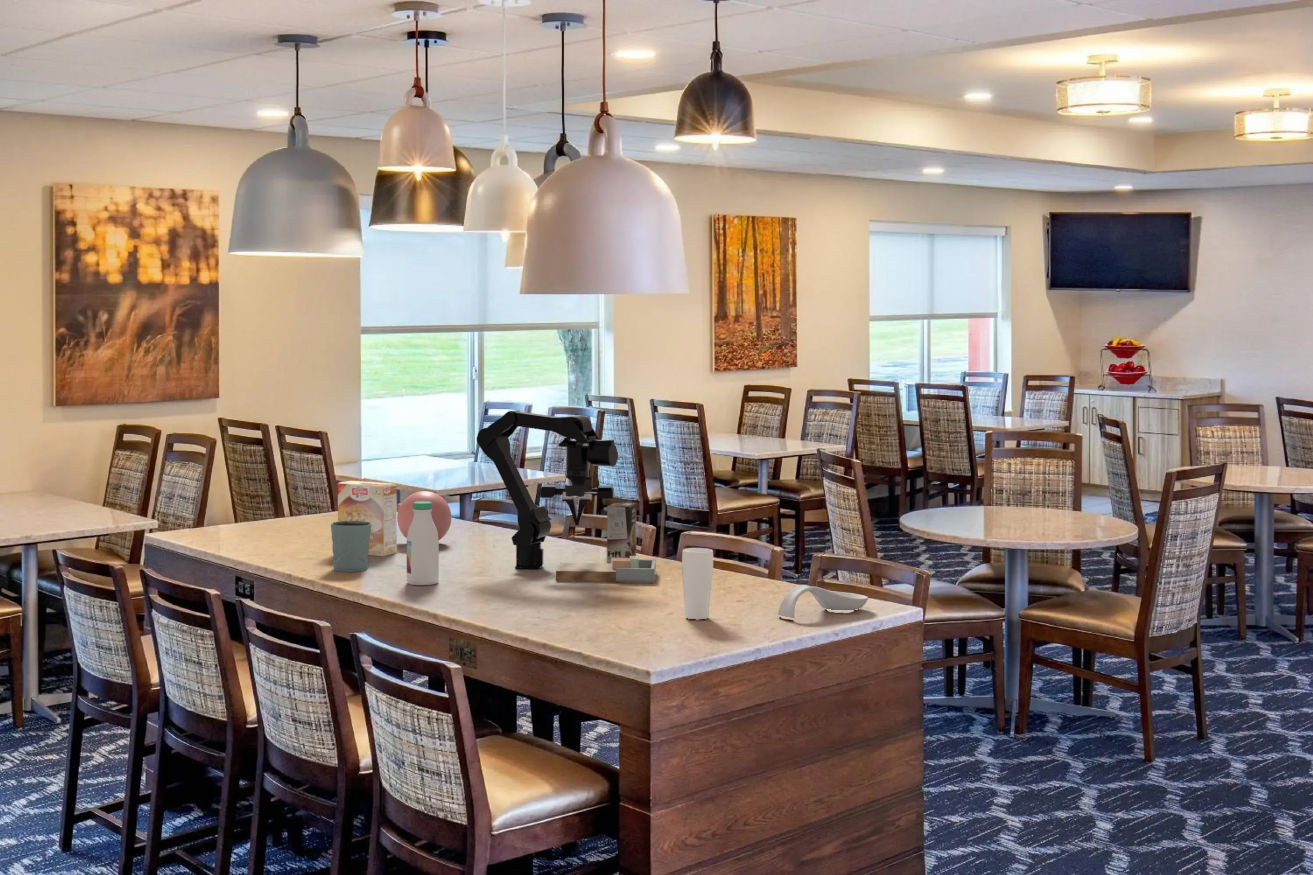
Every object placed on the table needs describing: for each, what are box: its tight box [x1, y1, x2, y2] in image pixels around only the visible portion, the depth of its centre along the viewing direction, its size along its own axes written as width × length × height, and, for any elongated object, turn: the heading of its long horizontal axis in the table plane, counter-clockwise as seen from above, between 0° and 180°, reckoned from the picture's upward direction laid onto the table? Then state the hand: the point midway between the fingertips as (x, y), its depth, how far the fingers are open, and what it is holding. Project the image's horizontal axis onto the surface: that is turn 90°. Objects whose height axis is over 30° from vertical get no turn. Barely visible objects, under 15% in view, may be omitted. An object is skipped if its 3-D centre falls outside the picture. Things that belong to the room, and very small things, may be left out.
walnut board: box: [555, 562, 616, 583], centre depth 352 cm, size 15×12×2 cm
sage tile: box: [629, 555, 639, 568], centre depth 352 cm, size 4×4×2 cm
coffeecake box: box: [337, 480, 398, 557], centre depth 385 cm, size 15×7×20 cm, turn 68°
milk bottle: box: [406, 501, 440, 586], centre depth 340 cm, size 8×8×20 cm
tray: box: [615, 558, 657, 584], centre depth 352 cm, size 9×14×4 cm
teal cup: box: [330, 521, 371, 573], centre depth 359 cm, size 10×10×12 cm
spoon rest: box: [777, 584, 869, 619], centre depth 310 cm, size 24×12×7 cm, turn 130°
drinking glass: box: [681, 547, 714, 621], centre depth 303 cm, size 7×7×15 cm
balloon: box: [397, 490, 452, 542], centre depth 403 cm, size 15×20×15 cm
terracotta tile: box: [611, 558, 630, 569], centre depth 352 cm, size 4×4×2 cm
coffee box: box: [606, 502, 638, 564], centre depth 371 cm, size 9×6×16 cm
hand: (577, 525), depth 359 cm, fingers closed
